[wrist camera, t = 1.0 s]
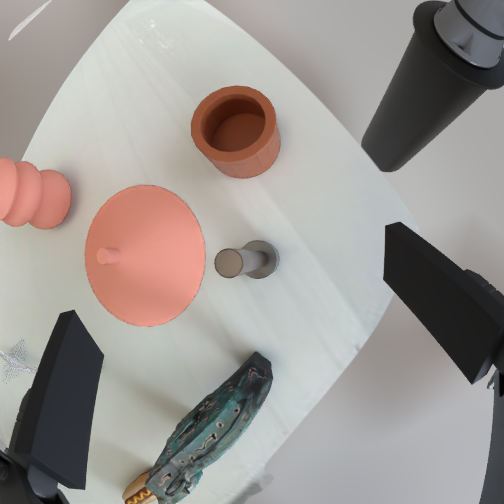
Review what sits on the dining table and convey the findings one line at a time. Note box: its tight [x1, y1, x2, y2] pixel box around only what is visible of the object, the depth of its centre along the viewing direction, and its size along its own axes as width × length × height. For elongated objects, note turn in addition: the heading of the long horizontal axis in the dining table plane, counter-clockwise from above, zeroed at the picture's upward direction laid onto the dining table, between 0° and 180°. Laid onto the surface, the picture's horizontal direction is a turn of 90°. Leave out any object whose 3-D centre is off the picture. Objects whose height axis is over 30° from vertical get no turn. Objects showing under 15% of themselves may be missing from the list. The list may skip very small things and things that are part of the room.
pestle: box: [215, 241, 279, 279], centre depth 31 cm, size 4×4×20 cm
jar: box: [191, 86, 280, 178], centre depth 37 cm, size 10×10×8 cm
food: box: [122, 472, 157, 504], centre depth 41 cm, size 14×6×5 cm, turn 140°
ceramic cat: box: [144, 352, 273, 504], centre depth 31 cm, size 20×6×20 cm, turn 143°
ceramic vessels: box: [0, 158, 206, 326], centre depth 35 cm, size 35×21×19 cm, turn 62°
